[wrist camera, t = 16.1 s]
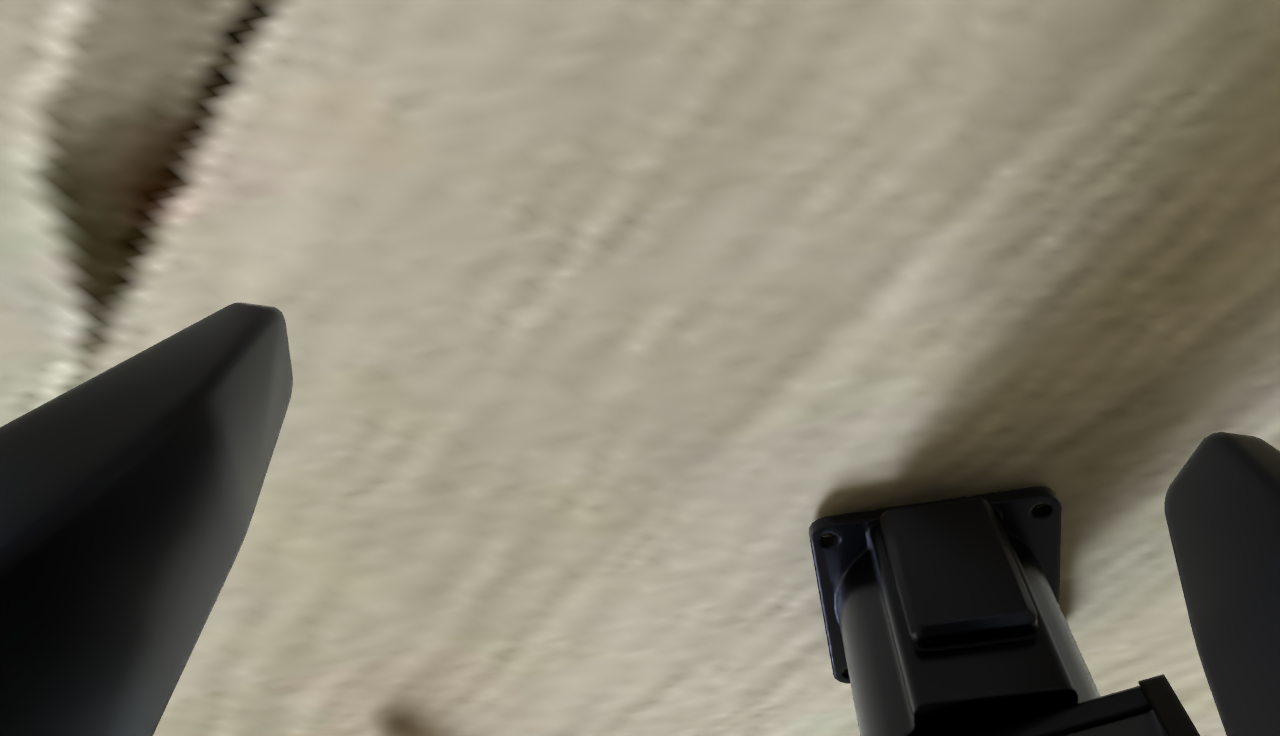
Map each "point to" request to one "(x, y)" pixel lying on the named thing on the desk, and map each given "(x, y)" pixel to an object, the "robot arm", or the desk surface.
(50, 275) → the desk surface
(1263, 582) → the robot arm
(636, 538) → the desk surface
